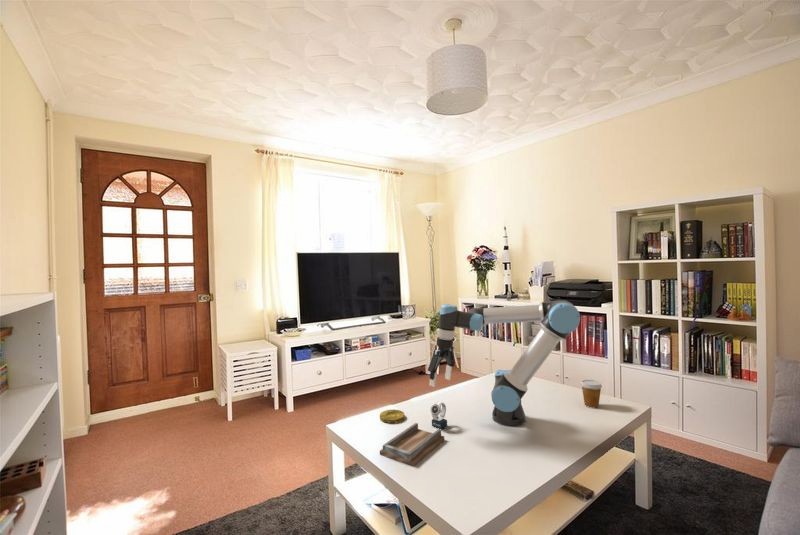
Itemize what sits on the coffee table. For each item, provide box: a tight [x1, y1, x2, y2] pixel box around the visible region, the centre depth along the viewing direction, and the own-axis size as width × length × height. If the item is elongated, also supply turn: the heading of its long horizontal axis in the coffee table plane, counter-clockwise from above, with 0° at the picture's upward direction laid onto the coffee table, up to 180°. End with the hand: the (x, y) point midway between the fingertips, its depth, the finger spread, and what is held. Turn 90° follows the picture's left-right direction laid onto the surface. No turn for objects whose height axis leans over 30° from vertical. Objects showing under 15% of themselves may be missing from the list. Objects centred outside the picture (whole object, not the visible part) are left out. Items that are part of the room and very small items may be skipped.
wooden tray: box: [379, 422, 445, 467], centre depth 154 cm, size 16×24×4 cm, turn 145°
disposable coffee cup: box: [580, 379, 603, 408], centre depth 191 cm, size 10×10×12 cm
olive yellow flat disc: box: [379, 409, 405, 424], centre depth 183 cm, size 12×12×2 cm
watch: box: [430, 401, 448, 431], centre depth 172 cm, size 6×8×11 cm
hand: (440, 382), depth 175 cm, fingers open, 13 cm apart
